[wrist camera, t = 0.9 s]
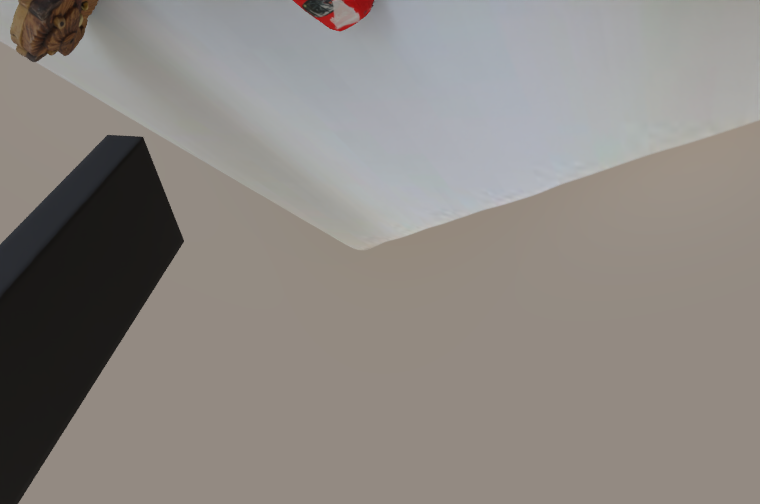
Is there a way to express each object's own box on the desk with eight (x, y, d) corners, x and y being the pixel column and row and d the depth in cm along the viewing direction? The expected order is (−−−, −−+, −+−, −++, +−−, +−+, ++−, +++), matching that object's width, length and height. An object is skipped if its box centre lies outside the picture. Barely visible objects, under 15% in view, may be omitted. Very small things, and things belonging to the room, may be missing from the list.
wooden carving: (106, 34, 64) (59, 101, 60) (65, 10, 62) (14, 77, 58) (117, -64, 50) (56, 15, 46) (65, -99, 48) (-3, -20, 44)
